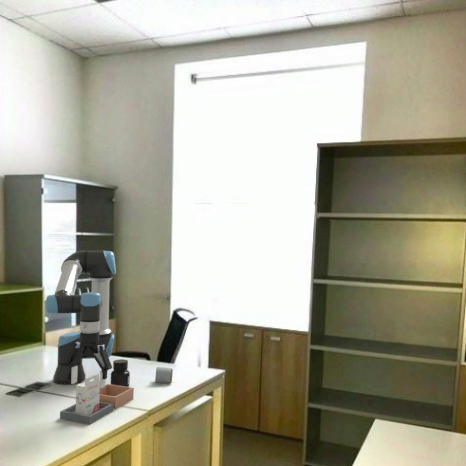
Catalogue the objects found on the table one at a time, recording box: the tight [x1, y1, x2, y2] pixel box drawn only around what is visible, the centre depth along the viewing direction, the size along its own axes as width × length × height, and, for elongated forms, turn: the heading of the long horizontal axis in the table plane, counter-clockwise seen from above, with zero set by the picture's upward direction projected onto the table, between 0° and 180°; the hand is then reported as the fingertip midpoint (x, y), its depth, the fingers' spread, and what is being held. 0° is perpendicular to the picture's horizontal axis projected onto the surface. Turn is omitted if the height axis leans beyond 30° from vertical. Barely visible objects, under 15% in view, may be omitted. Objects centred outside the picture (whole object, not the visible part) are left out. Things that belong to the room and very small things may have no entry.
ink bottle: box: [109, 358, 131, 387], centre depth 216 cm, size 10×9×12 cm
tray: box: [59, 402, 114, 425], centre depth 179 cm, size 14×15×3 cm
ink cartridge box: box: [75, 373, 100, 415], centre depth 179 cm, size 9×5×15 cm, turn 155°
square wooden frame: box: [99, 383, 135, 410], centre depth 194 cm, size 14×14×5 cm
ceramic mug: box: [154, 366, 174, 384], centre depth 225 cm, size 11×8×8 cm
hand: (88, 385), depth 179 cm, fingers open, 13 cm apart
